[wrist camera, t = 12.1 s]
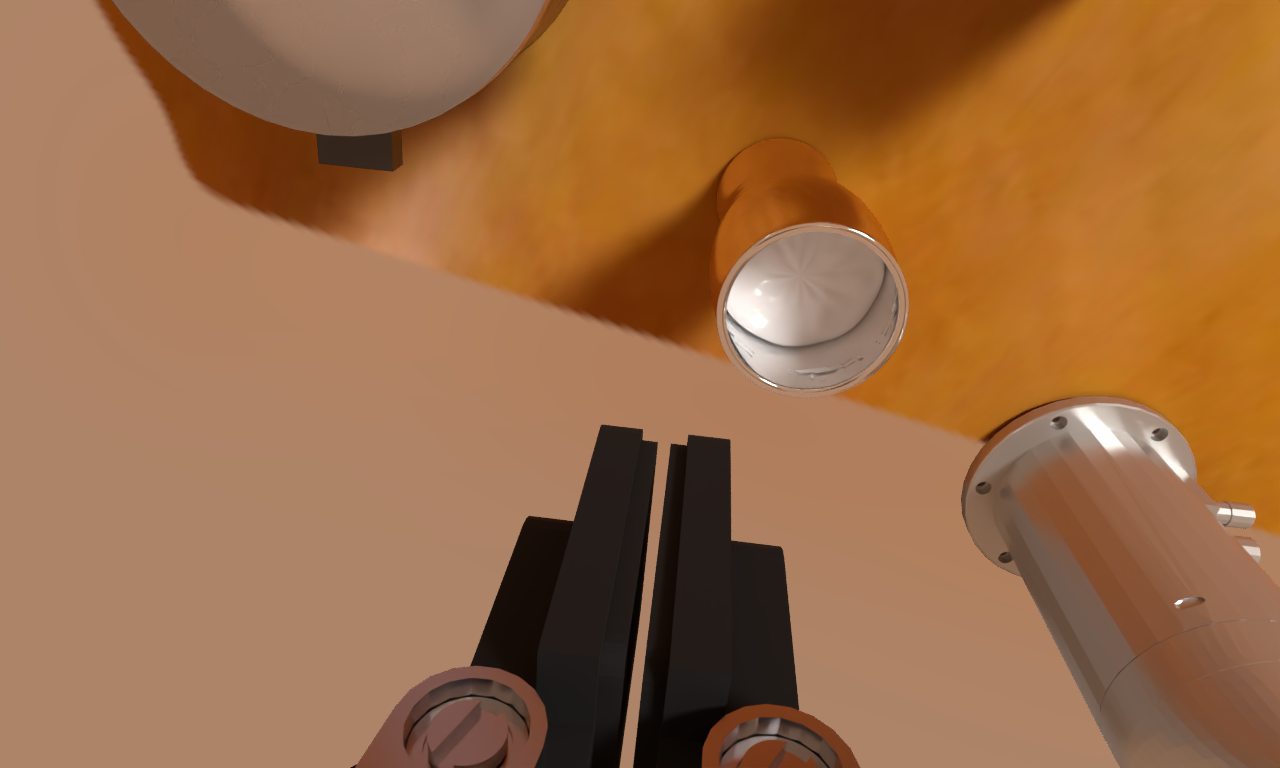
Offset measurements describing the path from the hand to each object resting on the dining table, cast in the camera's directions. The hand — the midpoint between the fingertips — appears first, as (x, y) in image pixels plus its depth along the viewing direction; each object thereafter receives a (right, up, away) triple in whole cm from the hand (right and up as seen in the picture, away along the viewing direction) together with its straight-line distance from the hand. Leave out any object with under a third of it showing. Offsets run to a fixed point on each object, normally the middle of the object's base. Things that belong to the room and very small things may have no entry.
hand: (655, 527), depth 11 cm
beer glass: (+7, +11, +31) cm, 33 cm away
